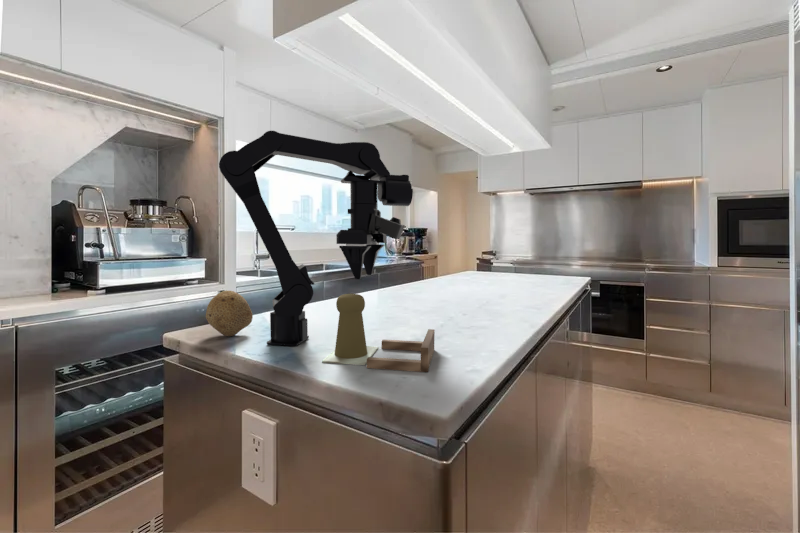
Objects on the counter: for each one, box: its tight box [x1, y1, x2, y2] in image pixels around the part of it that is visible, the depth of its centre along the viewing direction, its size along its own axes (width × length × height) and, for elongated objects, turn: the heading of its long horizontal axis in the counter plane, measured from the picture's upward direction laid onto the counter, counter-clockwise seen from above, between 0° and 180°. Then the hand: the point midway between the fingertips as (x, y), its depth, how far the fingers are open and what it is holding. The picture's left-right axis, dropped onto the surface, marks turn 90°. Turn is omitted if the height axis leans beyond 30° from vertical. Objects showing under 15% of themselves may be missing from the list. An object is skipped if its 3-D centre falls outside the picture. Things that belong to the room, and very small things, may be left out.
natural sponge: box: [205, 290, 254, 337], centre depth 83 cm, size 9×9×10 cm
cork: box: [334, 293, 367, 359], centre depth 70 cm, size 6×6×11 cm
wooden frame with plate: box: [321, 328, 436, 373], centre depth 69 cm, size 18×12×4 cm
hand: (363, 276), depth 83 cm, fingers open, 9 cm apart
